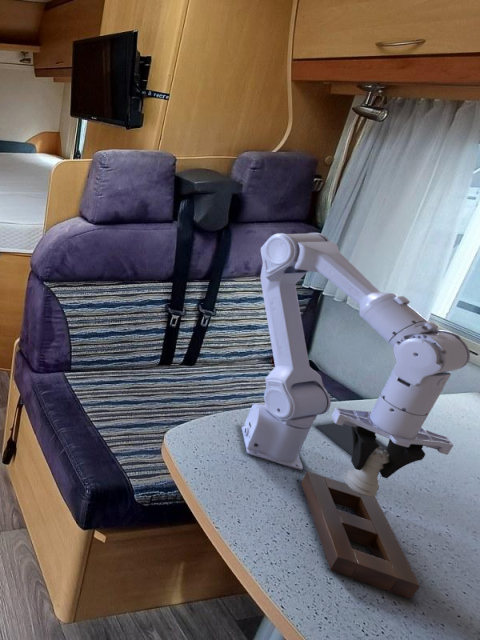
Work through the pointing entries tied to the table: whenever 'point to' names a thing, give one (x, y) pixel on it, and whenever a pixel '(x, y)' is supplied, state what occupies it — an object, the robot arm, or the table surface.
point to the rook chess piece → (367, 474)
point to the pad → (342, 436)
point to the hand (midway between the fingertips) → (368, 469)
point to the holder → (357, 536)
